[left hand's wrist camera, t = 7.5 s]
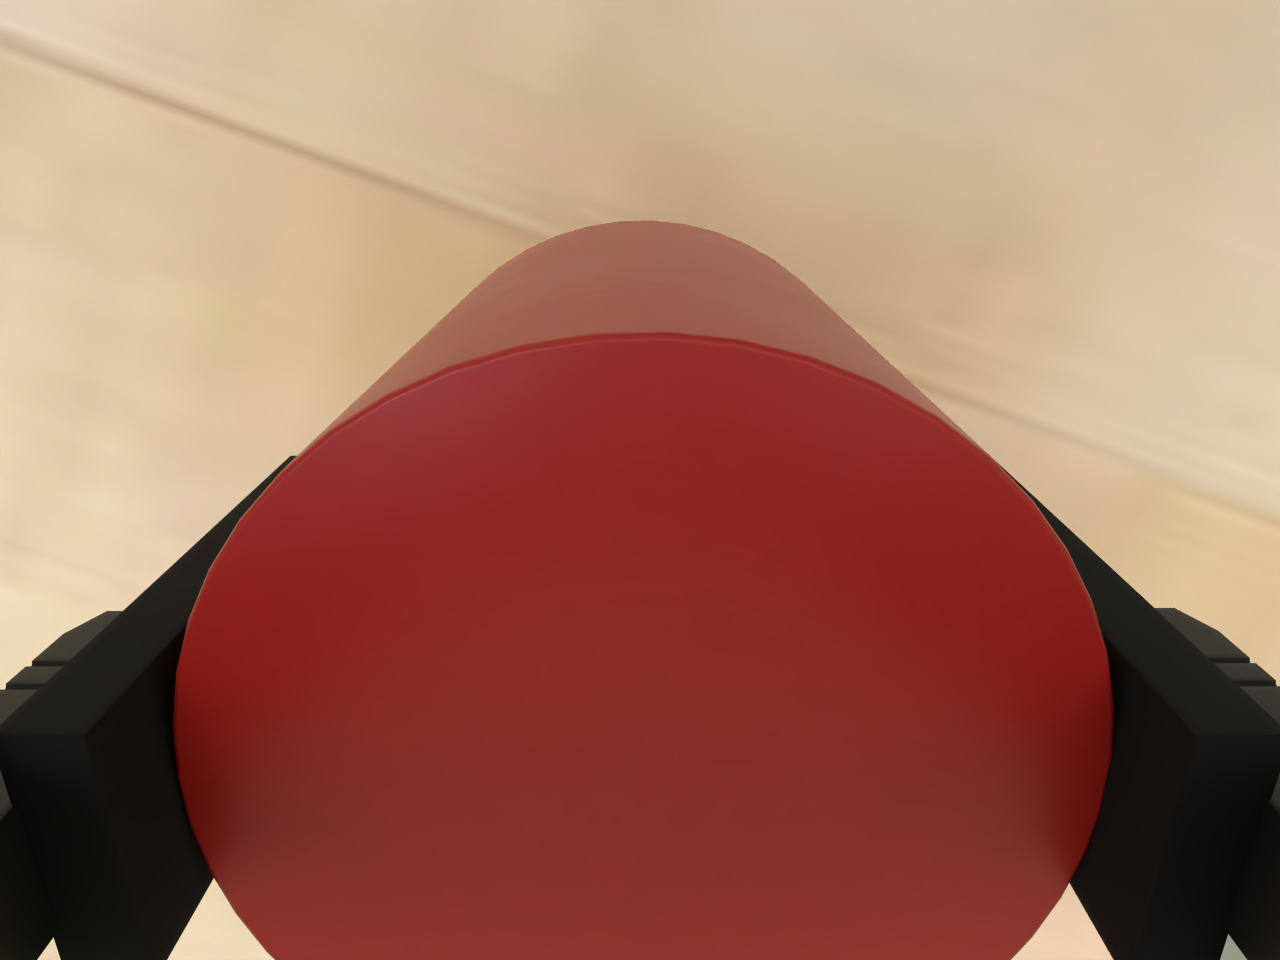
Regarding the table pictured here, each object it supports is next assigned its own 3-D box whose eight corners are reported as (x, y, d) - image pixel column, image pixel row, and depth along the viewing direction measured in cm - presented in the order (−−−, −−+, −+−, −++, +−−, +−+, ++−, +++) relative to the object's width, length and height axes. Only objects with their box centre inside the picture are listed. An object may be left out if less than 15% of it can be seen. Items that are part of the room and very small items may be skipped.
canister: (486, 688, 19) (356, 1159, 10) (347, 282, 16) (-5, 465, 7) (896, 608, 18) (1129, 1041, 10) (835, 168, 15) (1098, 216, 6)
